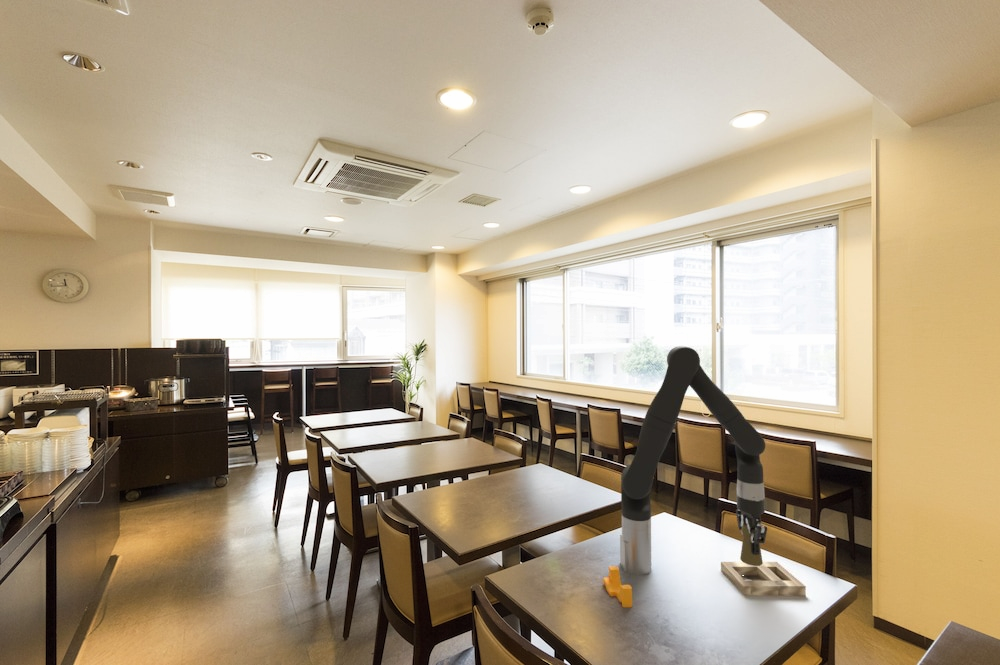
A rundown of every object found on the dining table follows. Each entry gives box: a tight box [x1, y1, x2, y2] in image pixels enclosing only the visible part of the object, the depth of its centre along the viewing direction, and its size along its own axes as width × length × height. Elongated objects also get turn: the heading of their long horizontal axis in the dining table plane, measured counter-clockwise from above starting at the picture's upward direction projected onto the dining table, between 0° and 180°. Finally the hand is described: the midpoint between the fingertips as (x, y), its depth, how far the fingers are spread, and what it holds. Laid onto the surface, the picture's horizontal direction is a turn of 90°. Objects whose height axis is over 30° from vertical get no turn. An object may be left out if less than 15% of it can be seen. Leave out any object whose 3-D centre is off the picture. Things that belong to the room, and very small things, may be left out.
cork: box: [739, 524, 764, 566], centre depth 139 cm, size 6×6×11 cm
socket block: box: [720, 561, 807, 597], centre depth 139 cm, size 18×14×3 cm
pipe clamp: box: [602, 565, 633, 608], centre depth 131 cm, size 12×4×6 cm, turn 5°
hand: (751, 550), depth 139 cm, fingers closed on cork, 4 cm apart
